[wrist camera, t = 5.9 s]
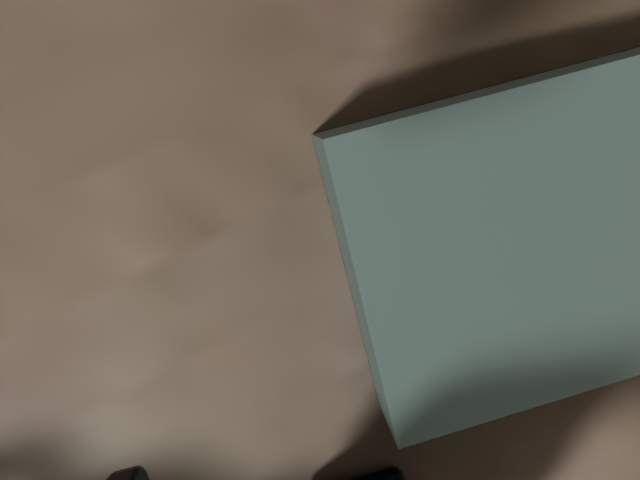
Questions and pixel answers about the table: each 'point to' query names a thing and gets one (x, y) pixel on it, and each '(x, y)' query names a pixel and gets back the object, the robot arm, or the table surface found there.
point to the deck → (494, 244)
